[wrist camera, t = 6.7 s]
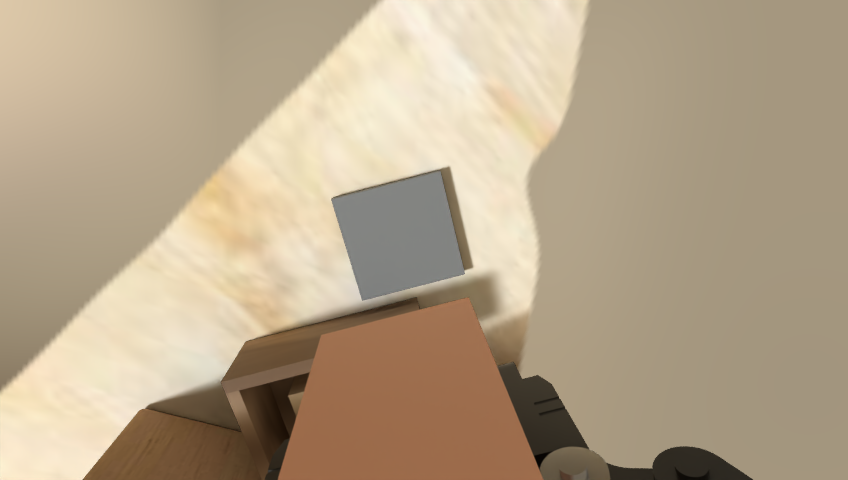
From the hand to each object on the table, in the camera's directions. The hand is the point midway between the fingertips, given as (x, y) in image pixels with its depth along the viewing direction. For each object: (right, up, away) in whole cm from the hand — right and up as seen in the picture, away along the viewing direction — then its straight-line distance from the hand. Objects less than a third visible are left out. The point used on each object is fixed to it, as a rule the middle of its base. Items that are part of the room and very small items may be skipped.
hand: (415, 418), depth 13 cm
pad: (-1, +5, +18) cm, 19 cm away
